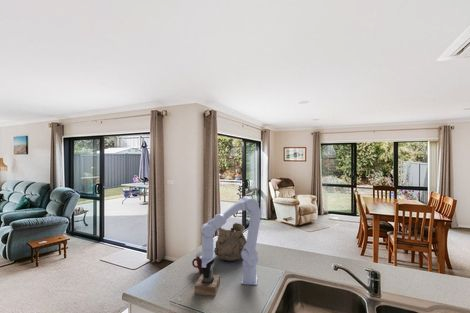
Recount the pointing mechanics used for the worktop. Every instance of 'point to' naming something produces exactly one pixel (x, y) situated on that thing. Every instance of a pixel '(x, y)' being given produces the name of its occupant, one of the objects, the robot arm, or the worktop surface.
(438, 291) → the worktop surface
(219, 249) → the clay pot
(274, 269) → the worktop surface
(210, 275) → the plug
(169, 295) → the worktop surface
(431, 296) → the worktop surface
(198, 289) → the socket block
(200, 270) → the mug
